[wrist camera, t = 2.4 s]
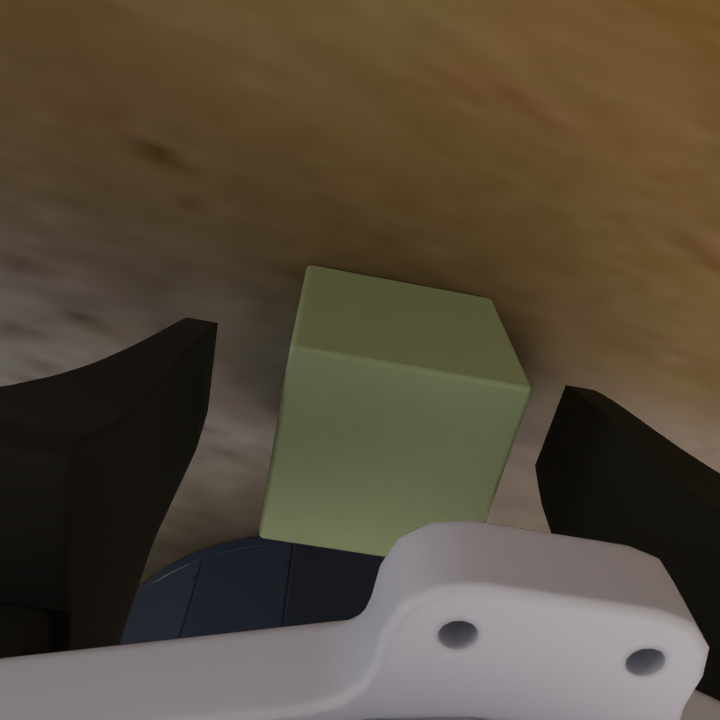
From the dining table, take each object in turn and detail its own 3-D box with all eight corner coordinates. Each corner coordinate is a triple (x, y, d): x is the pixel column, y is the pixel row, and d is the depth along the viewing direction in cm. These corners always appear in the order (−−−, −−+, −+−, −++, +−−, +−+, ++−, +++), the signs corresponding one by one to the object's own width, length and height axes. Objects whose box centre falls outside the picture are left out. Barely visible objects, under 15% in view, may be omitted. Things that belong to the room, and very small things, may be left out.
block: (445, 450, 17) (469, 571, 13) (280, 422, 16) (257, 539, 13) (492, 297, 15) (534, 389, 11) (307, 262, 14) (289, 345, 11)
